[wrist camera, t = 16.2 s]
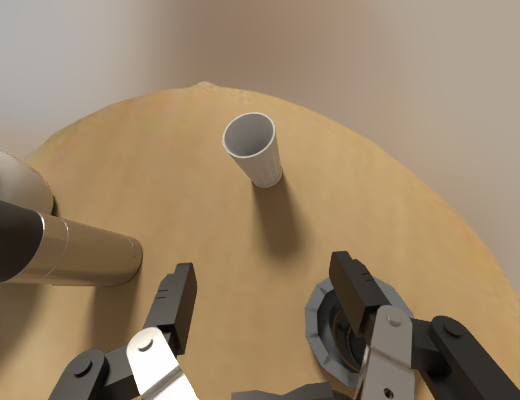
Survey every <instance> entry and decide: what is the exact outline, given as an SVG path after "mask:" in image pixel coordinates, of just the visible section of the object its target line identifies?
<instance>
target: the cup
mask: <svg viewBox="0 0 520 400" xmlns="http://www.w3.org/2000/svg"><path fill="white" fill-rule="evenodd" d="M223 146H224V148H225V150H226V151H227V152H228V154H229V155H230V156H231V157H232V158H233V159H234V160H235V161H236V163H237V164H238V165H239V166H240V167H241V168H242V170H243V171H244V172H245V173H246V174H247V176H248V177H249V178H250V179H251V180H252V182H253V183H254V184H255V185H256V186H258V187H261V188H269V187H272V186H274V185H275V184H276V183H278V182H279V180H280V179H281V176H282V167H281V163H280V157H279V151H278V145H277V137H276V130H275V125H274V123H273V121H272V120H271V118H269V117H268V116H267V115H265V114H262V113H258V112H251V113H246V114H243V115H240V116H238V117H237V118H235V119H234V120H233V121H231V122H230V124H229V125H228V126H227V127H226V129H225V131H224V134H223Z"/></svg>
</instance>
